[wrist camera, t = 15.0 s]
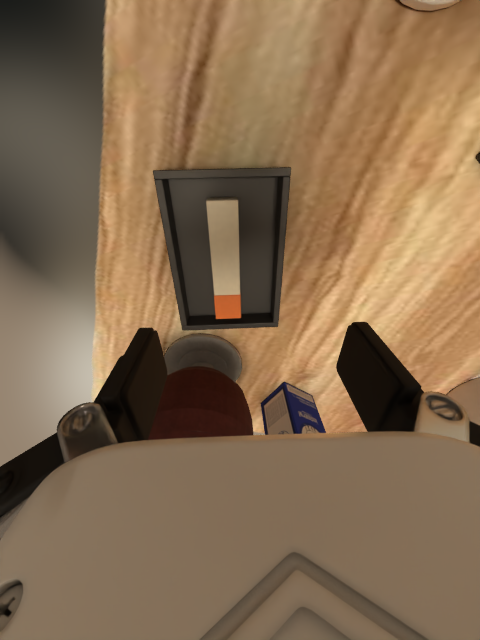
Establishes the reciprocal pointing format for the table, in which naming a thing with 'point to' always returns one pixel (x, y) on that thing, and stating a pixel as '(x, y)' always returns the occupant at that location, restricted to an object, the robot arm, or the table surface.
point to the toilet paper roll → (469, 398)
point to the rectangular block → (225, 255)
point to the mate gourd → (202, 391)
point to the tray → (254, 241)
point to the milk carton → (290, 412)
